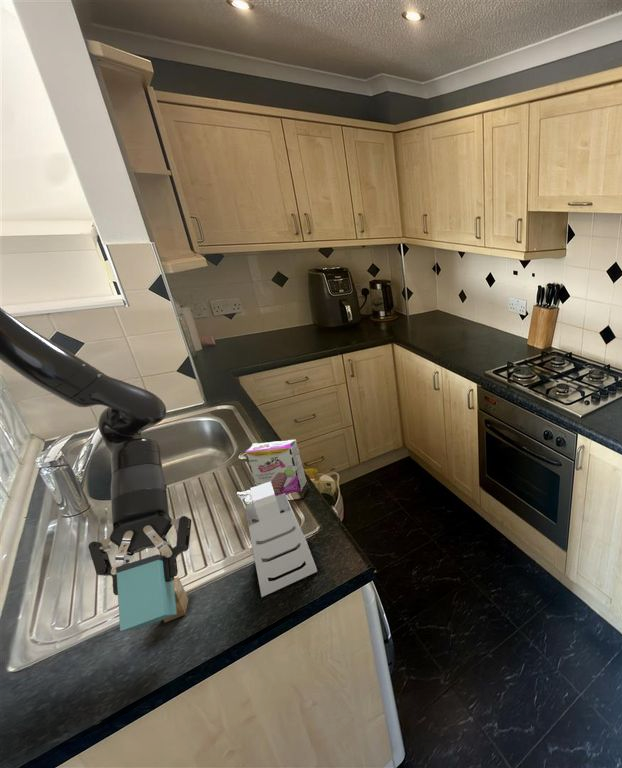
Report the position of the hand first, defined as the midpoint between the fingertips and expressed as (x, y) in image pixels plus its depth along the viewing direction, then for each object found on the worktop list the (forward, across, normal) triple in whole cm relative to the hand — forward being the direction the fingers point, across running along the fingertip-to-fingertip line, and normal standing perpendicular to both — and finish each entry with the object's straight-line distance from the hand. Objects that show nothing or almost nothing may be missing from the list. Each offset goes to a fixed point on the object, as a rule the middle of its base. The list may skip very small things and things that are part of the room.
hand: (147, 588), depth 69 cm
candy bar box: (-17, +20, +34) cm, 43 cm away
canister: (+5, 0, +4) cm, 6 cm away
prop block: (+4, 0, +13) cm, 13 cm away
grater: (+4, +19, +13) cm, 23 cm away
